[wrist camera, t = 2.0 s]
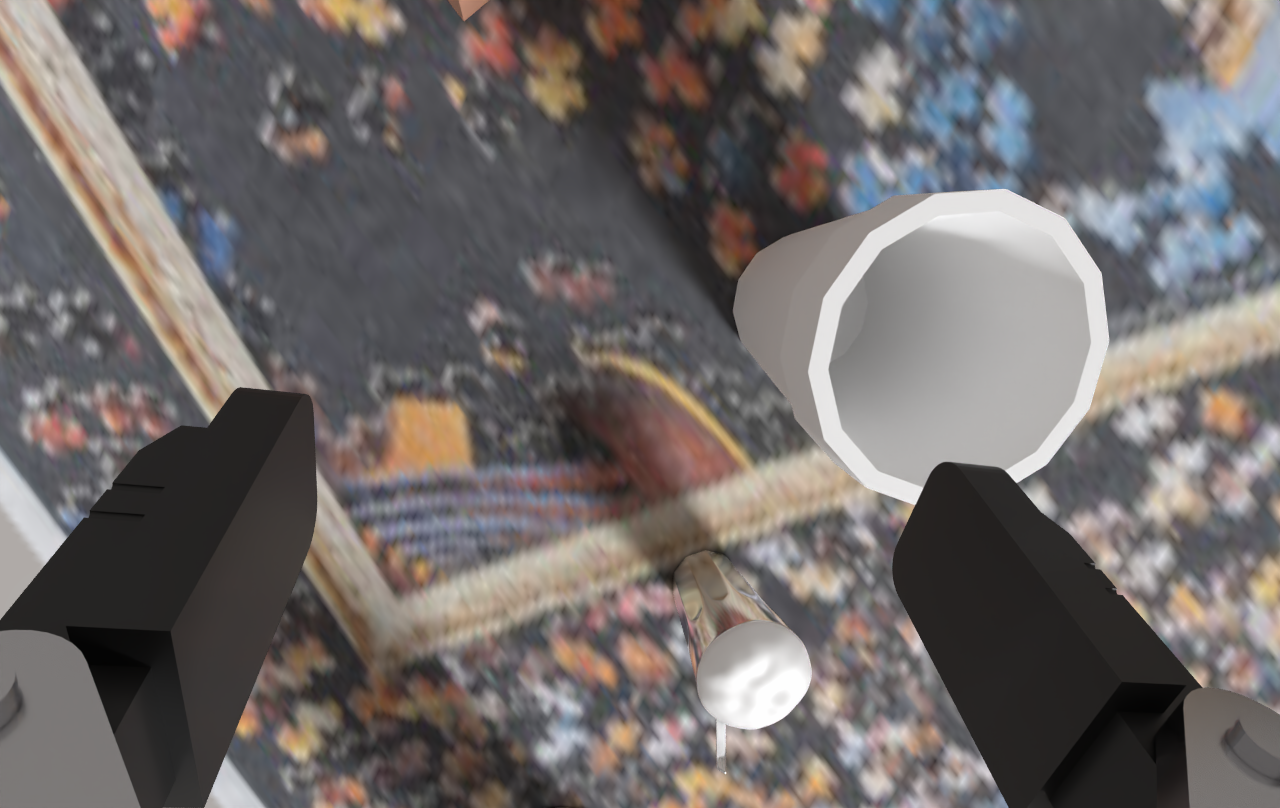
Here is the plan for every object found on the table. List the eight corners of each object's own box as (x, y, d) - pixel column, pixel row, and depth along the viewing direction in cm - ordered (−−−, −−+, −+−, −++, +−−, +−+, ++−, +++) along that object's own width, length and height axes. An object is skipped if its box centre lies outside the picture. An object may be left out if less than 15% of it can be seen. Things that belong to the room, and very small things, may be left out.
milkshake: (630, 607, 37) (672, 745, 27) (695, 520, 36) (761, 630, 27) (702, 649, 38) (767, 796, 28) (766, 566, 37) (854, 687, 28)
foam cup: (911, 370, 36) (1122, 451, 24) (730, 431, 35) (850, 549, 23) (872, 171, 33) (1086, 145, 21) (676, 233, 33) (777, 244, 20)
